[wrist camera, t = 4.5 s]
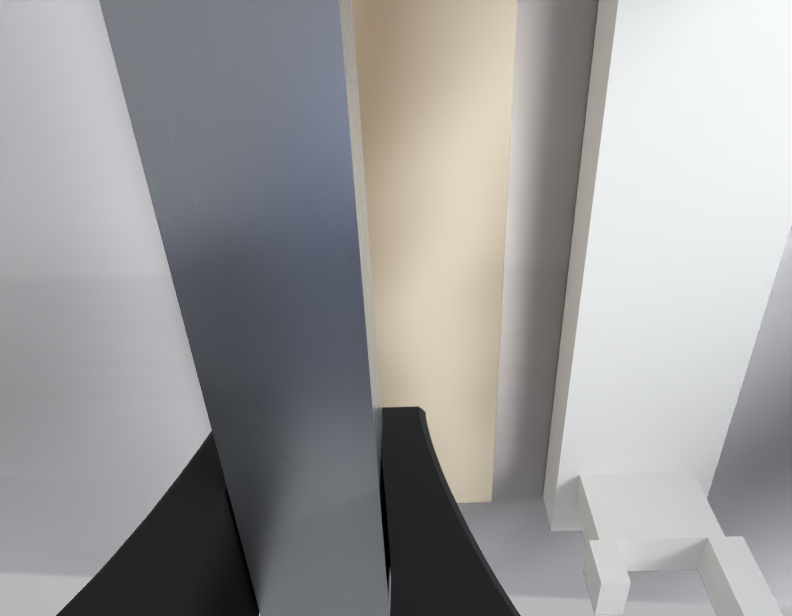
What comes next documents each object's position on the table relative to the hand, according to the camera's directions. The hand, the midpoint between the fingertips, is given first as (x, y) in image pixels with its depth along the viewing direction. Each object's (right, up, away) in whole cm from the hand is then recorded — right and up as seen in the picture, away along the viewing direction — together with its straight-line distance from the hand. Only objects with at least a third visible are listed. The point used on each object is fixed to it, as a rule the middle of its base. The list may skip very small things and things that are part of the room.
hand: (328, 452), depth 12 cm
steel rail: (0, 0, 0) cm, 0 cm away
